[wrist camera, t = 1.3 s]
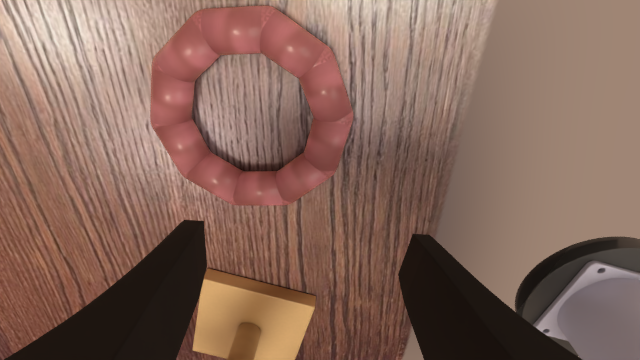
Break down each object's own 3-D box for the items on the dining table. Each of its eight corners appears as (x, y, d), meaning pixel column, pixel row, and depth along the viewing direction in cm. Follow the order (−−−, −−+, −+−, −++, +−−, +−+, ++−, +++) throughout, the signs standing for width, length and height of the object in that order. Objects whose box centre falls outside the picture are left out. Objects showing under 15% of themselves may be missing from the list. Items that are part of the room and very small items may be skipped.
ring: (377, 38, 17) (381, 41, 15) (319, 215, 22) (316, 234, 21) (168, -26, 17) (144, -32, 15) (159, 171, 22) (141, 187, 20)
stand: (316, 295, 26) (307, 377, 20) (291, 361, 30) (278, 446, 24) (208, 267, 26) (165, 343, 20) (197, 338, 30) (160, 419, 24)
